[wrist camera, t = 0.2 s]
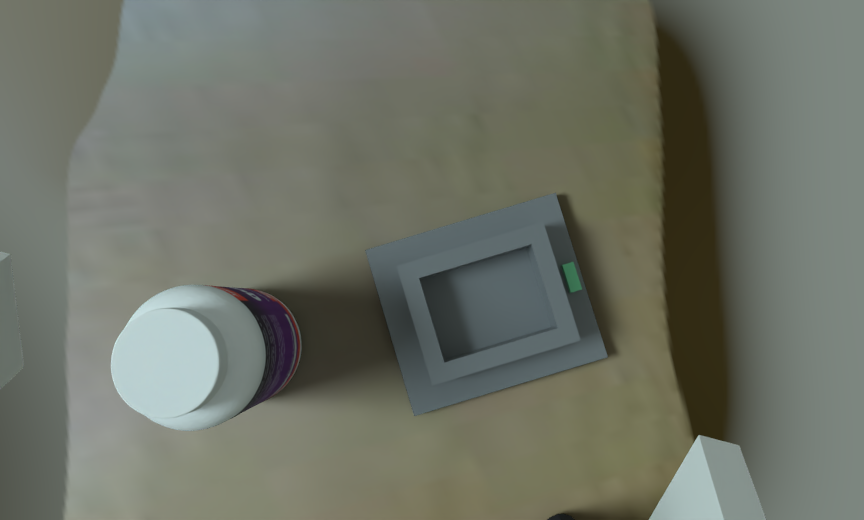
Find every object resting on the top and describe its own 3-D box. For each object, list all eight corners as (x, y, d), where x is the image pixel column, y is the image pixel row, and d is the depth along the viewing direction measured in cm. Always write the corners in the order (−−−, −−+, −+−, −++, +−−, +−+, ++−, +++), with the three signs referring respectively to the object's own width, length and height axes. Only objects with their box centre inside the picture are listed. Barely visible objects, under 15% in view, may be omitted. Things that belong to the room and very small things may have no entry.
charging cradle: (604, 356, 47) (617, 359, 44) (414, 413, 47) (412, 422, 44) (553, 195, 48) (562, 186, 45) (366, 251, 48) (361, 247, 45)
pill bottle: (293, 278, 48) (231, 266, 34) (314, 390, 47) (260, 425, 33) (182, 301, 48) (73, 299, 34) (202, 412, 47) (99, 458, 33)
